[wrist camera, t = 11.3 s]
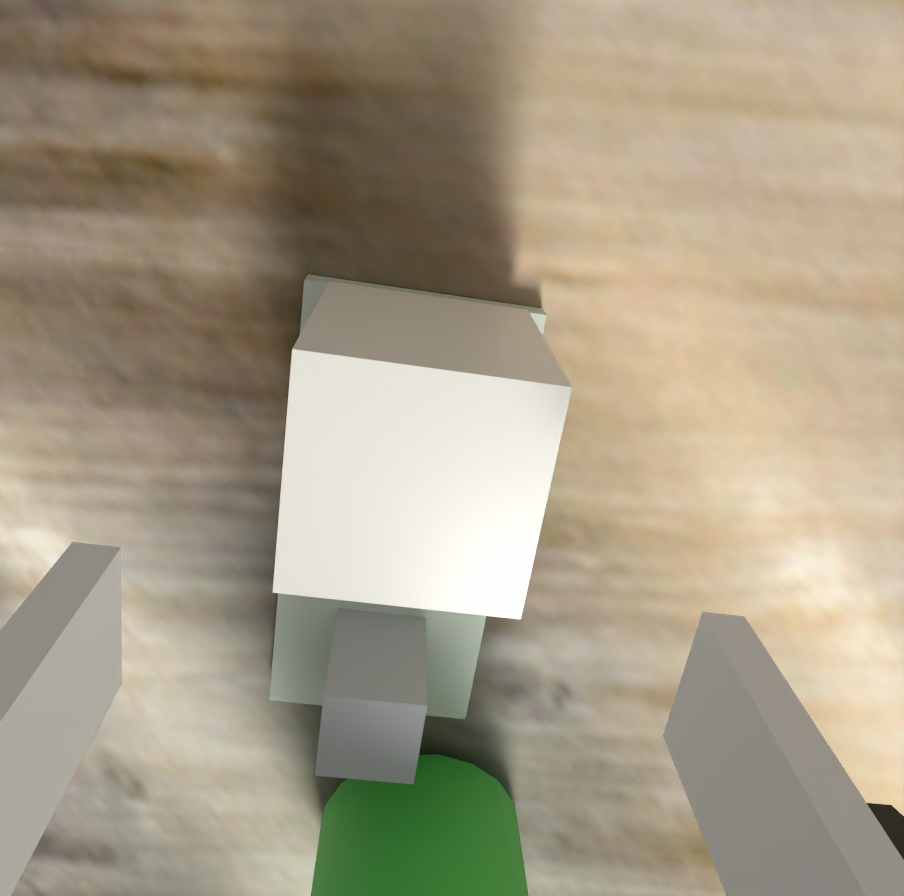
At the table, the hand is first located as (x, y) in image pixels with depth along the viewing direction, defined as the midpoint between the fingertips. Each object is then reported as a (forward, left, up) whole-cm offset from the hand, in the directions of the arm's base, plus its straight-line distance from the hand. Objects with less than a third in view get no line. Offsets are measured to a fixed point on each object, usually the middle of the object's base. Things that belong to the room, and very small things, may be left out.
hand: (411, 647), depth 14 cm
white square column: (0, 0, -14) cm, 14 cm away
